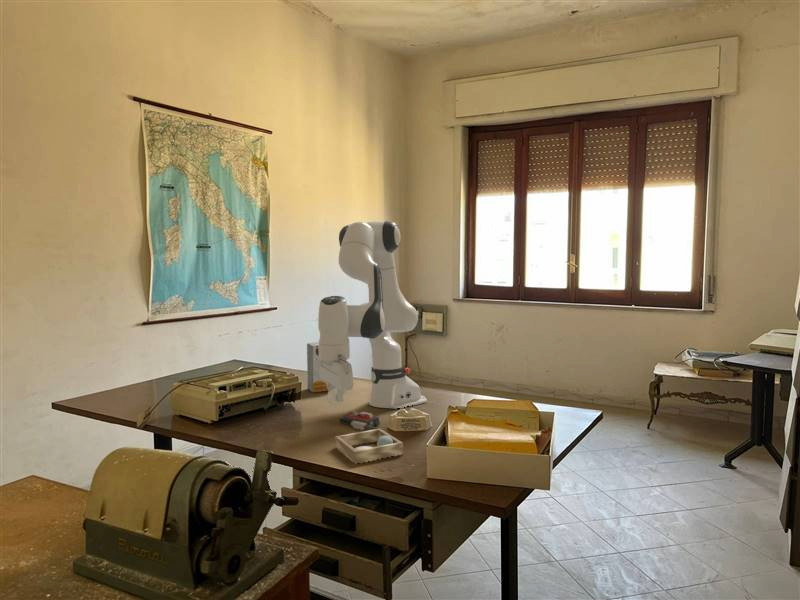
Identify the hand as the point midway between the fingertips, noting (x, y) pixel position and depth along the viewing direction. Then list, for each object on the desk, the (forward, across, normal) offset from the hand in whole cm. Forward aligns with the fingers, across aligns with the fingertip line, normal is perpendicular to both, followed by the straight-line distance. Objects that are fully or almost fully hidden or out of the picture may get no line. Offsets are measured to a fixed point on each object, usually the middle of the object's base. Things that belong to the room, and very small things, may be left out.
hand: (335, 398), depth 166 cm
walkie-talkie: (+16, +17, -17) cm, 29 cm away
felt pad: (+16, -4, -7) cm, 18 cm away
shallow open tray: (+16, -5, -8) cm, 18 cm away
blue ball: (+16, -8, -12) cm, 21 cm away
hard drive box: (+16, +71, -22) cm, 76 cm away
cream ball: (+2, 0, 0) cm, 2 cm away
